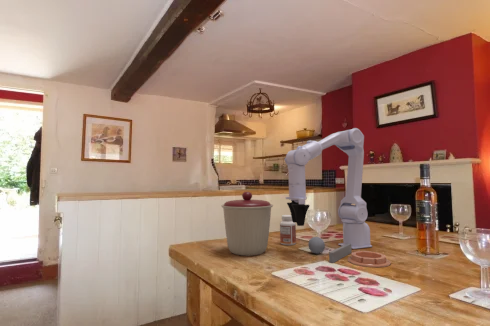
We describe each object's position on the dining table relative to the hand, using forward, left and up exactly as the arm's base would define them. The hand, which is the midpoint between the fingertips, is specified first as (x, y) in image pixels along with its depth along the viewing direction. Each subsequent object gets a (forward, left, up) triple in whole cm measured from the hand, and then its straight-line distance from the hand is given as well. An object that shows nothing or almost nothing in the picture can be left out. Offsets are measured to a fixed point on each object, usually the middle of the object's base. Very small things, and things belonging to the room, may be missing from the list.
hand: (298, 223), depth 100 cm
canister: (+15, -9, -10) cm, 20 cm away
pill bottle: (-5, -15, -10) cm, 19 cm away
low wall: (-10, +10, -10) cm, 17 cm away
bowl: (-14, +17, -10) cm, 24 cm away
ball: (-6, +2, -7) cm, 10 cm away
